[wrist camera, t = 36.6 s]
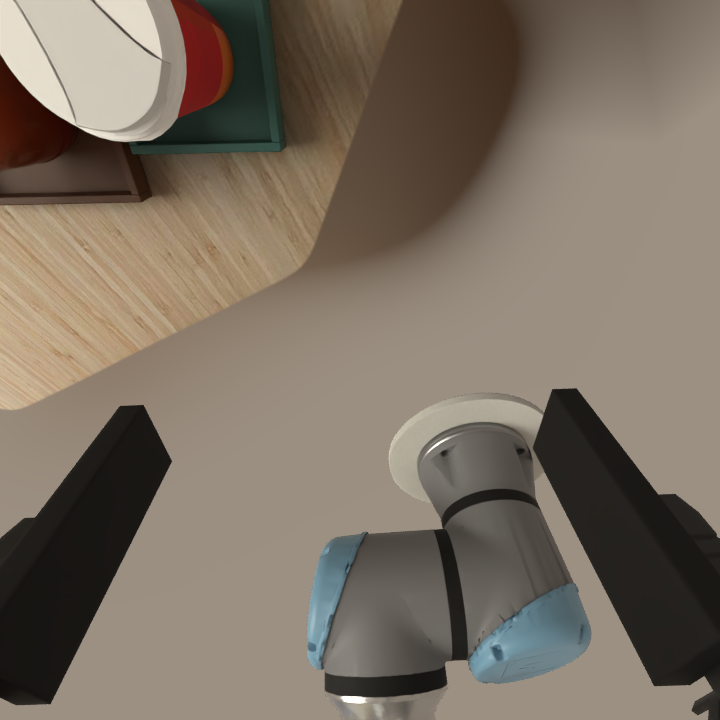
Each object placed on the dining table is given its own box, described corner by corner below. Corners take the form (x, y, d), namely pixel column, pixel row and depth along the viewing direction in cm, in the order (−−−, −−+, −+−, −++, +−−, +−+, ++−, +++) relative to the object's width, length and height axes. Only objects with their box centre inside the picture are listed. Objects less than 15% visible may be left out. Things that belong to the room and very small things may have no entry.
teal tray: (286, 147, 30) (281, 151, 28) (147, 150, 30) (132, 154, 28) (261, -59, 23) (253, -72, 21) (82, -55, 23) (56, -68, 21)
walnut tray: (152, 196, 32) (141, 202, 30) (-13, 200, 32) (-33, 206, 30) (87, 1, 25) (69, -6, 23) (-127, 5, 25) (-160, -1, 23)
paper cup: (110, 23, 25) (-89, -28, 14) (199, -52, 23) (53, -183, 12) (190, 143, 29) (89, 179, 18) (272, 88, 27) (216, 91, 16)
